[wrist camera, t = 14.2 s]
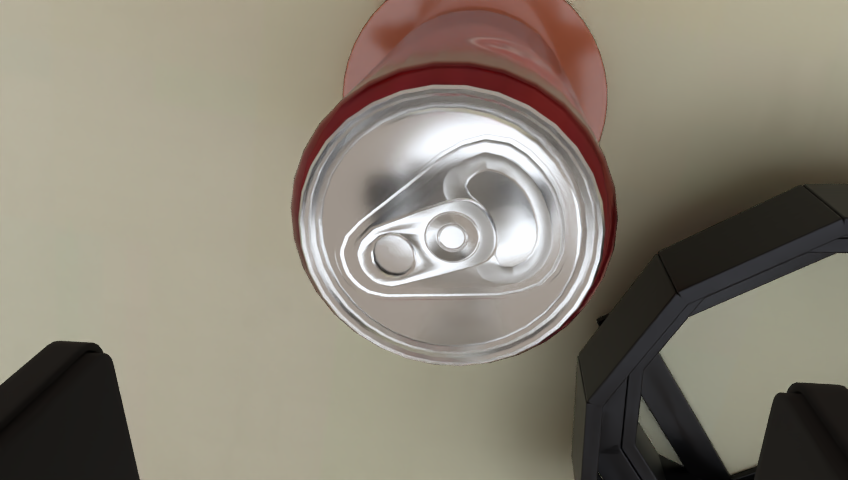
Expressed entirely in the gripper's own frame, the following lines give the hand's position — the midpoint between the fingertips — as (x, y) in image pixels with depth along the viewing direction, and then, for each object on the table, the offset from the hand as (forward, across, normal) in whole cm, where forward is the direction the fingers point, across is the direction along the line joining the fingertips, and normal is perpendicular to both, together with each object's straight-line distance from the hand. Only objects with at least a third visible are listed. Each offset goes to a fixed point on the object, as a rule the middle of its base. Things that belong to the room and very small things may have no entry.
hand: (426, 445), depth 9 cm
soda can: (+18, 0, -1) cm, 18 cm away
